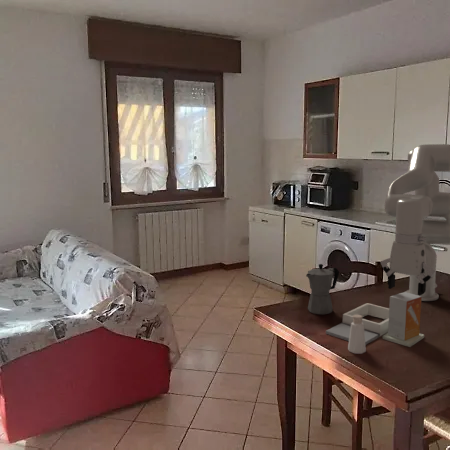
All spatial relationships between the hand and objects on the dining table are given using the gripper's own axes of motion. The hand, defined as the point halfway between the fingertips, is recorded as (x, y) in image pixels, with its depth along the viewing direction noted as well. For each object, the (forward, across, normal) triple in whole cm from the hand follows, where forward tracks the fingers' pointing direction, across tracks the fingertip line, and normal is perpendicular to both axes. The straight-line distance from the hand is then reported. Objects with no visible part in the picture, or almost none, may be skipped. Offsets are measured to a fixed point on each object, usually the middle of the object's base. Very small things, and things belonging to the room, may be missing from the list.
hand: (405, 290), depth 150 cm
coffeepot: (+16, +34, -3) cm, 37 cm away
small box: (+15, 0, +1) cm, 15 cm away
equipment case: (+16, +13, +2) cm, 20 cm away
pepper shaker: (+15, +6, +19) cm, 25 cm away
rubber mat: (+16, 0, +1) cm, 16 cm away
